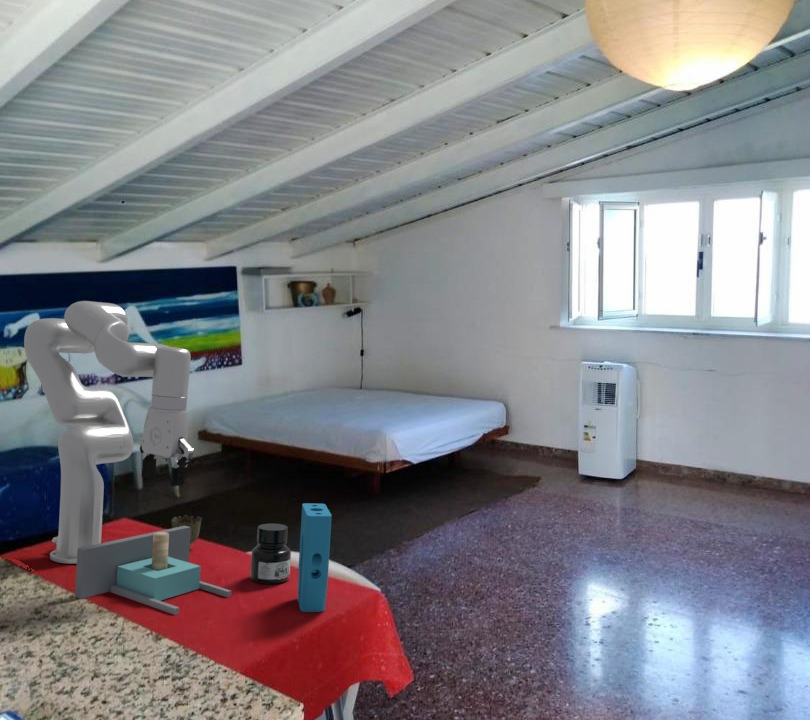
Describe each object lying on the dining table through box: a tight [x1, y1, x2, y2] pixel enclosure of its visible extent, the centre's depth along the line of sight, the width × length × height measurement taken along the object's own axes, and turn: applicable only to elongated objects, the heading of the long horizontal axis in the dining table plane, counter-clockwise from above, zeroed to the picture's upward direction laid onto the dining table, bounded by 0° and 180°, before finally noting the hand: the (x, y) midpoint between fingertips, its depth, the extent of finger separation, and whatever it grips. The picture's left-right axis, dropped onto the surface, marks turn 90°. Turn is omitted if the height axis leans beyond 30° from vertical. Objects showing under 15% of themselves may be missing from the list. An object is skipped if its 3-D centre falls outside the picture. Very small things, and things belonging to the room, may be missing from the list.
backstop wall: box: [74, 526, 232, 615], centre depth 161 cm, size 22×28×10 cm
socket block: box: [117, 557, 202, 601], centre depth 162 cm, size 12×12×5 cm
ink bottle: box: [249, 523, 292, 585], centre depth 174 cm, size 10×9×12 cm
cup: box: [170, 514, 202, 550], centre depth 194 cm, size 8×7×8 cm
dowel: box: [152, 532, 169, 571], centre depth 162 cm, size 3×3×12 cm
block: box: [297, 502, 332, 613], centre depth 159 cm, size 12×5×20 cm, turn 13°
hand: (162, 481), depth 167 cm, fingers open, 9 cm apart
